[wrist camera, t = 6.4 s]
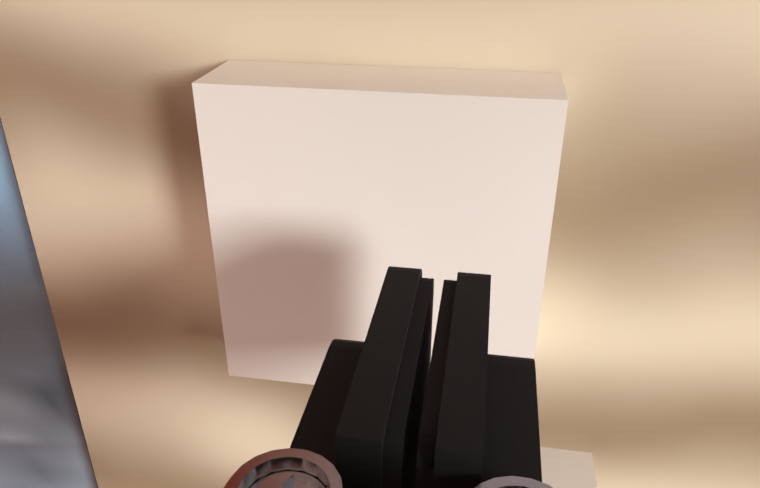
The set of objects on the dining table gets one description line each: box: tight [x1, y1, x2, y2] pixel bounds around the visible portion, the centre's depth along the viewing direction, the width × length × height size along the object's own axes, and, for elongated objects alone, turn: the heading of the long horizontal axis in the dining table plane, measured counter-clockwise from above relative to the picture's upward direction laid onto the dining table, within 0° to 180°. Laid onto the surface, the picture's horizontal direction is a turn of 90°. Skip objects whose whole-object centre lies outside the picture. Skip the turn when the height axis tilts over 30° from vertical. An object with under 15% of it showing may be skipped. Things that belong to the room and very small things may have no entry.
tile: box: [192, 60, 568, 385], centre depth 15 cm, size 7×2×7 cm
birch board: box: [0, 0, 760, 488], centre depth 19 cm, size 24×20×1 cm
